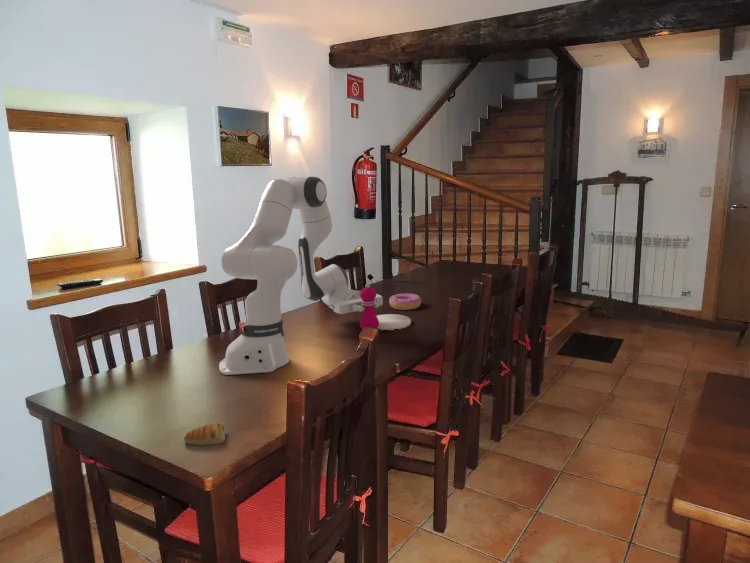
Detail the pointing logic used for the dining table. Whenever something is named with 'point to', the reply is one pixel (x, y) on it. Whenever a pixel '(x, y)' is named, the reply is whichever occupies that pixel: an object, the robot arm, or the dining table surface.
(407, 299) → the donut
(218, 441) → the pastry
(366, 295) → the pepper mill
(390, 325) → the trivet
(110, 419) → the dining table surface
